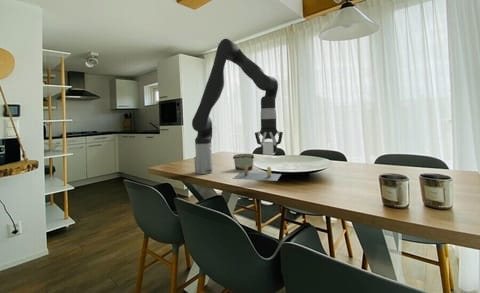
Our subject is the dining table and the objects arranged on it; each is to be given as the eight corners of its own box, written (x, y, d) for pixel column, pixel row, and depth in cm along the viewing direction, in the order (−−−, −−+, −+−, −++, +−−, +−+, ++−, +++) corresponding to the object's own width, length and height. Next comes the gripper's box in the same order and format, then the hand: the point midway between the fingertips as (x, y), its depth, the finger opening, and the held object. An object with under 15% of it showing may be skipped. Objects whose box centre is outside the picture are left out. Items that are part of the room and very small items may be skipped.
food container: (255, 170, 142) (254, 153, 141) (254, 172, 136) (254, 155, 135) (234, 170, 143) (234, 153, 142) (233, 172, 137) (232, 155, 136)
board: (232, 181, 117) (232, 168, 116) (240, 175, 130) (240, 163, 129) (277, 183, 110) (277, 170, 109) (281, 176, 123) (281, 164, 122)
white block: (263, 154, 115) (262, 142, 115) (265, 153, 120) (264, 141, 119) (273, 154, 114) (273, 142, 113) (274, 153, 118) (274, 141, 118)
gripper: (252, 118, 114) (253, 153, 115) (282, 117, 109) (282, 154, 111) (255, 118, 121) (256, 151, 122) (284, 117, 116) (284, 152, 118)
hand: (269, 152), depth 117 cm, fingers closed on white block, 5 cm apart
